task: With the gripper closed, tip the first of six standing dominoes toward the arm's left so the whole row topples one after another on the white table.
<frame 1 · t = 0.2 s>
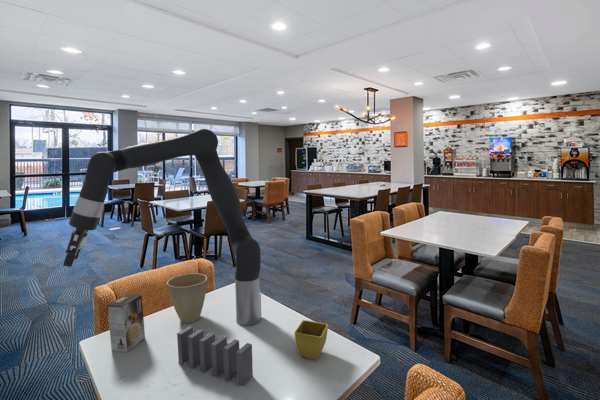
hand: (70, 262, 105), 31 cm above the table, tool tilted 20°, fingers open, 8 cm apart
plant pot: (189, 318, 133), on the table
domino 4: (220, 372, 99), on the table
domino 1: (186, 360, 105), on the table
domino 5: (232, 376, 97), on the table
domino 3: (208, 367, 101), on the table
domino 2: (197, 363, 103), on the table
flower pot: (311, 355, 107), on the table
domino 6: (245, 380, 95), on the table
coffee box: (128, 344, 114), on the table
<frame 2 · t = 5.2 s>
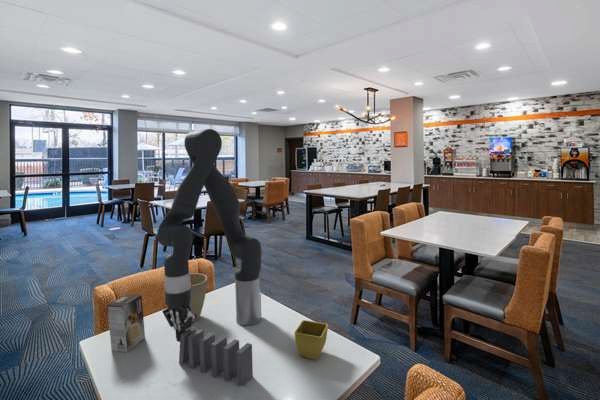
hand: (180, 340, 105), 6 cm above the table, tool pointing down, fingers closed
domino 1: (186, 359, 105), on the table, tilted 9°
everything else where it was.
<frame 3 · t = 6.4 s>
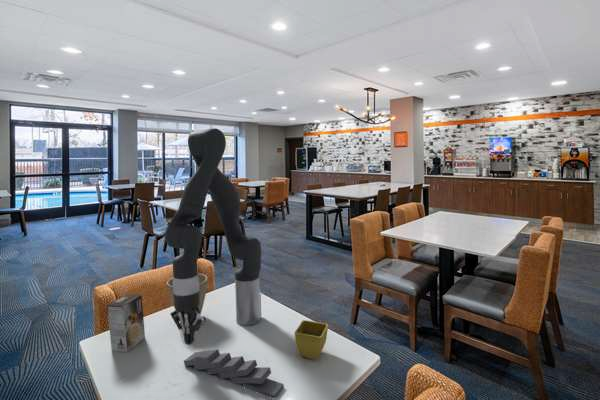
hand: (189, 343, 103), 6 cm above the table, tool pointing down, fingers closed
domino 4: (224, 371, 98), point 1 cm above the table, tilted 69°, touching domino 3, domino 5
domino 1: (190, 359, 104), point 1 cm above the table, tilted 70°, touching domino 2
domino 5: (237, 375, 96), point 1 cm above the table, tilted 75°, touching domino 4, domino 6
domino 3: (213, 367, 100), point 1 cm above the table, tilted 68°, touching domino 2, domino 4
domino 2: (200, 362, 102), point 1 cm above the table, tilted 70°, touching domino 1, domino 3
domino 6: (248, 381, 94), on the table, tilted 90°, touching domino 5
everything else where it was.
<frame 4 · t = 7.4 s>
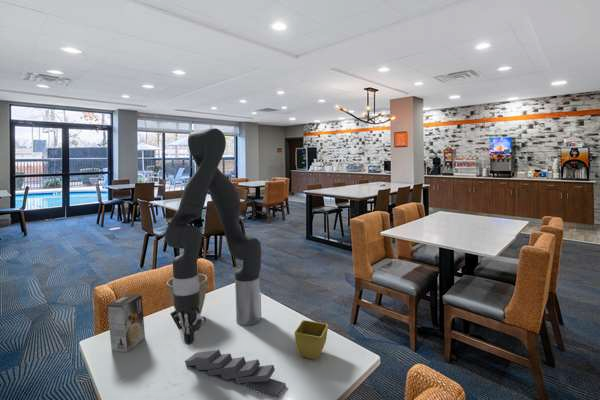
hand: (189, 343, 103), 6 cm above the table, tool pointing down, fingers closed
domino 4: (226, 372, 97), point 1 cm above the table, tilted 69°, touching domino 5
domino 5: (239, 375, 96), point 1 cm above the table, tilted 74°, touching domino 4
domino 3: (213, 368, 99), point 1 cm above the table, tilted 69°, touching domino 2
domino 6: (250, 381, 94), on the table, tilted 90°
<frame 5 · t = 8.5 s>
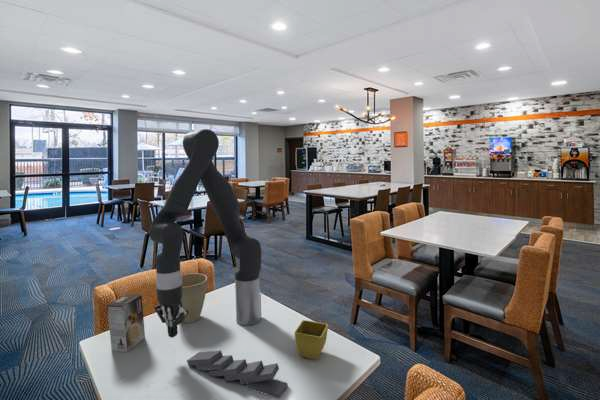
hand: (172, 336, 107), 7 cm above the table, tool pointing down, fingers closed
domino 4: (229, 373, 97), point 1 cm above the table, tilted 70°, touching domino 3, domino 5
domino 5: (244, 376, 95), point 1 cm above the table, tilted 71°, touching domino 4
domino 3: (215, 369, 99), point 1 cm above the table, tilted 70°, touching domino 2, domino 4
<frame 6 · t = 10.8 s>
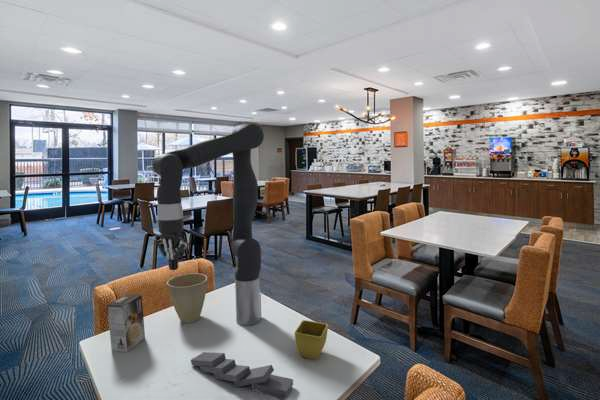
hand: (173, 269, 109), 27 cm above the table, tool pointing down, fingers closed
domino 4: (240, 378, 94), point 1 cm above the table, tilted 66°, touching domino 3, domino 5
domino 1: (197, 358, 104), point 1 cm above the table, tilted 73°, touching domino 2
domino 5: (256, 380, 93), point 1 cm above the table, tilted 90°, touching domino 4, domino 6
domino 3: (221, 371, 98), point 1 cm above the table, tilted 72°, touching domino 4
domino 2: (206, 364, 101), point 1 cm above the table, tilted 73°, touching domino 1
domino 6: (256, 383, 94), on the table, tilted 90°, touching domino 5
everything else where it was.
at the end: domino 6 tilted 90°; domino 1 tilted 73° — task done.
